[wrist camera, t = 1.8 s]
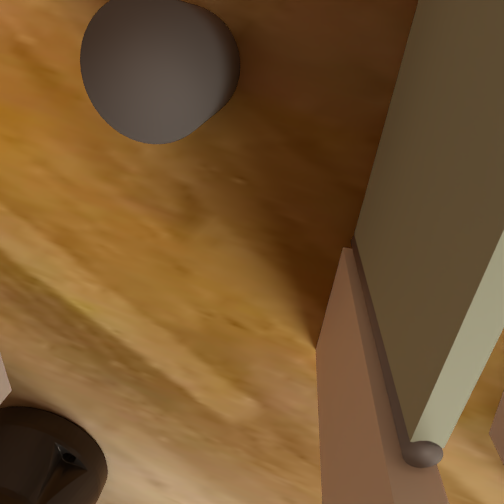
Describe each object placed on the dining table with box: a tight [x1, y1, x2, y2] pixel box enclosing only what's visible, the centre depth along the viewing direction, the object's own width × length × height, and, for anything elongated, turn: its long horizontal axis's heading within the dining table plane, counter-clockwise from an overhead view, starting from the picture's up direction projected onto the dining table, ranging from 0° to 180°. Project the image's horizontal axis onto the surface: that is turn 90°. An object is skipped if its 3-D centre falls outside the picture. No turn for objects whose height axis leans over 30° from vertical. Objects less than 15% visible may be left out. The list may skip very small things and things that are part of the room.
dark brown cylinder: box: [80, 0, 240, 144], centre depth 25 cm, size 7×7×8 cm
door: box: [351, 0, 504, 468], centre depth 20 cm, size 1×17×18 cm, turn 171°
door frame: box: [316, 247, 449, 504], centre depth 21 cm, size 2×30×22 cm, turn 172°
